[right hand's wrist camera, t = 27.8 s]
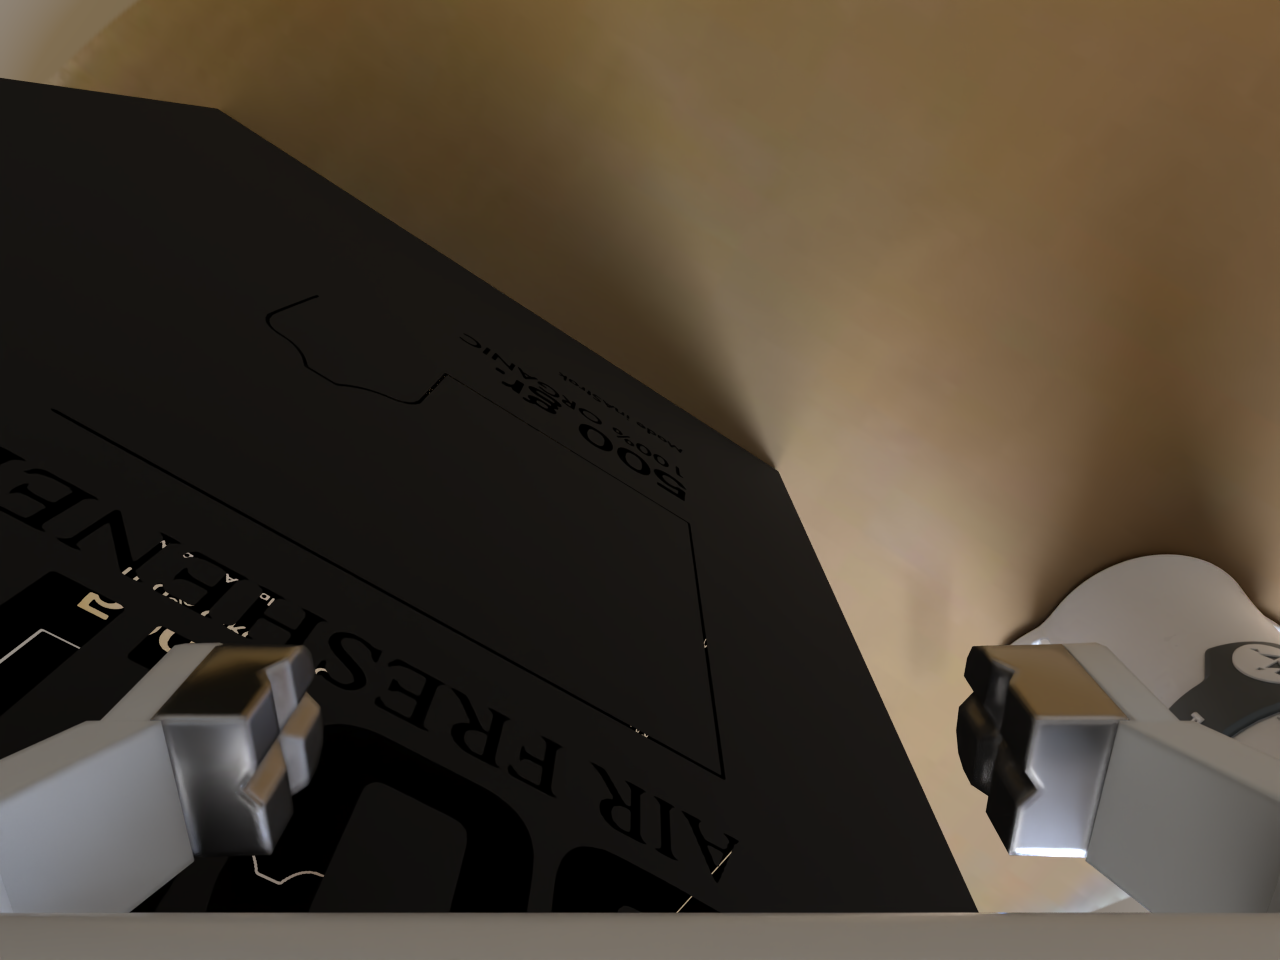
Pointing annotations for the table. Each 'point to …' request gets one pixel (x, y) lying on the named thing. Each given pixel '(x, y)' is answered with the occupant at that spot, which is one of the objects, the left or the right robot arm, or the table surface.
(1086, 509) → the table surface
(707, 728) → the cardboard box
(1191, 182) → the table surface
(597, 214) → the table surface
